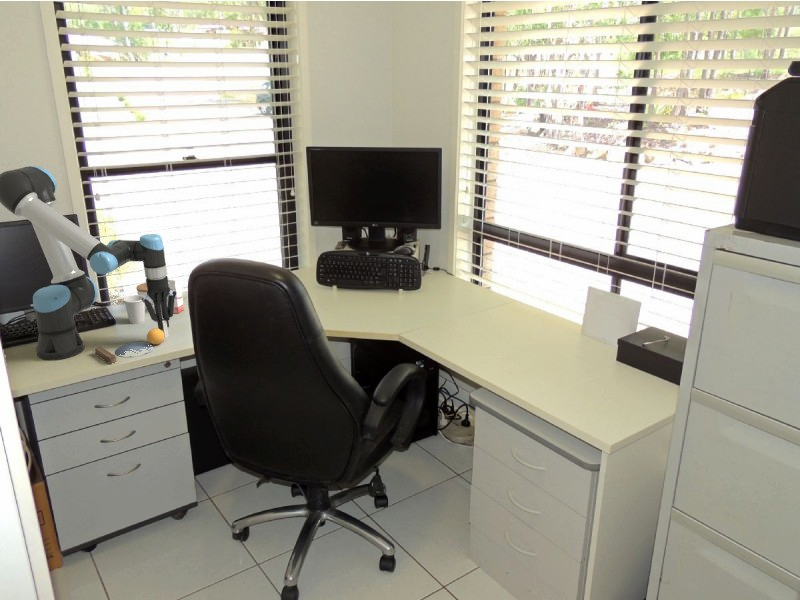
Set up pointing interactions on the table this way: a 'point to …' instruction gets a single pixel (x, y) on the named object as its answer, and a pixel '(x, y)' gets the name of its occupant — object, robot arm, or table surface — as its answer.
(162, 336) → the ball
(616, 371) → the table surface
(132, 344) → the slate mark
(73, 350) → the robot arm
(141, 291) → the lidded jar
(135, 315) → the dixie cup
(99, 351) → the strip
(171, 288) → the ink cartridge box
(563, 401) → the table surface
